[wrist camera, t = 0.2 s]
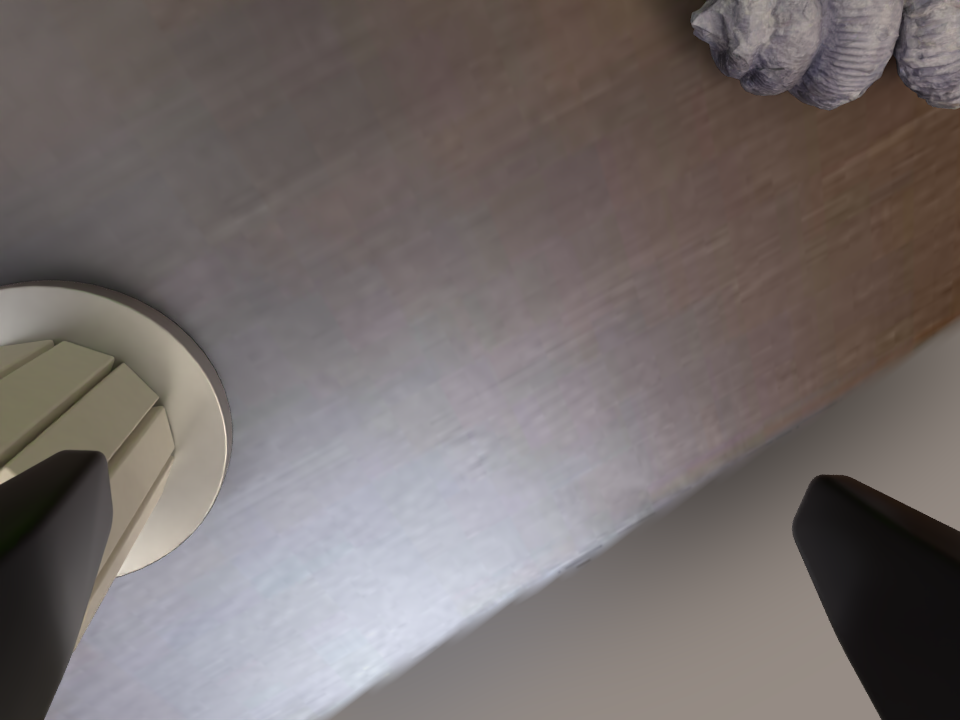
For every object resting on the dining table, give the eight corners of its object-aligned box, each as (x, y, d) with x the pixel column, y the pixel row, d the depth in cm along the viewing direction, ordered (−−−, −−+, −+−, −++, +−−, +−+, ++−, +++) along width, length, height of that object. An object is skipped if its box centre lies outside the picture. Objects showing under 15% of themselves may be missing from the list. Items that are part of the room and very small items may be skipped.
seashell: (919, 10, 23) (636, 37, 22) (1054, -162, 18) (697, -141, 17) (991, 137, 21) (686, 175, 20) (1165, -17, 16) (771, 20, 15)
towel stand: (71, 618, 21) (-101, 903, 13) (-186, 414, 18) (-616, 615, 10) (294, 446, 21) (264, 622, 13) (73, 212, 18) (-150, 248, 10)
